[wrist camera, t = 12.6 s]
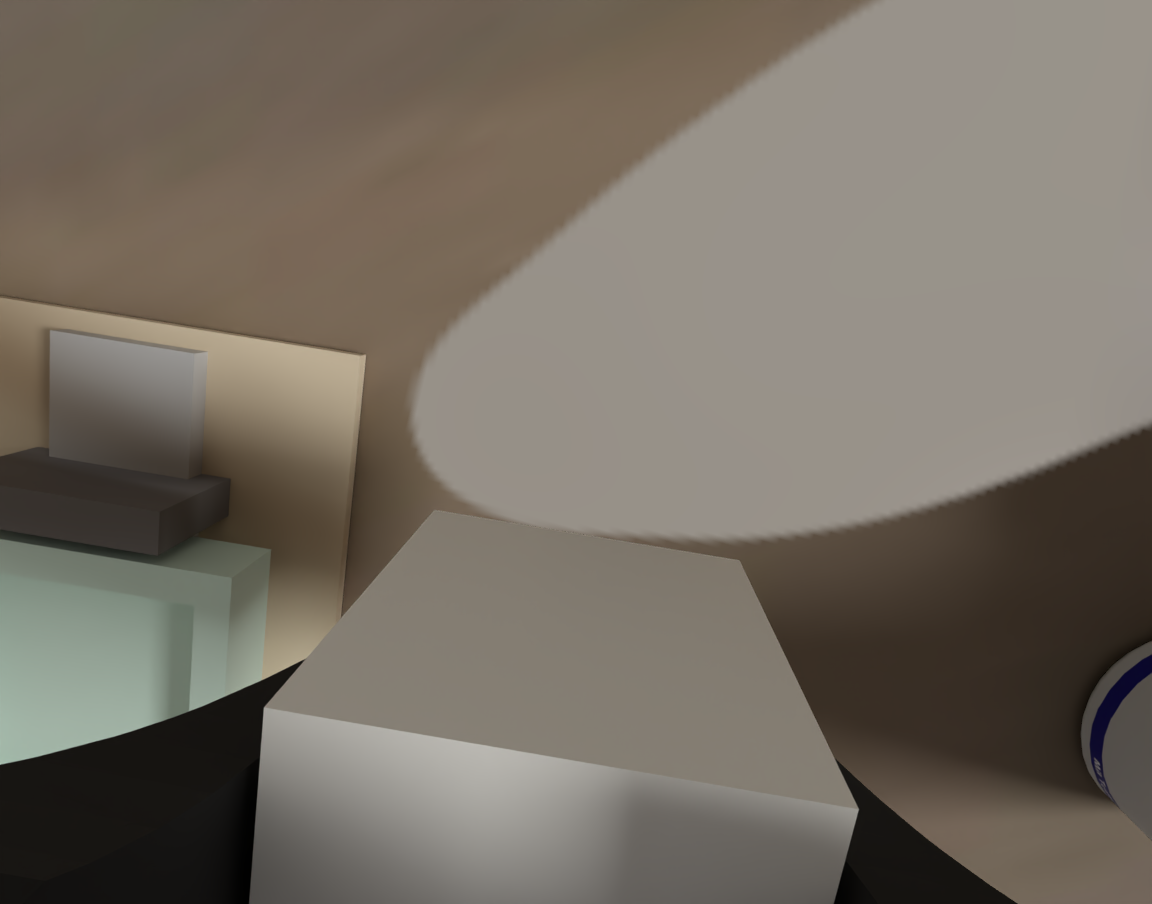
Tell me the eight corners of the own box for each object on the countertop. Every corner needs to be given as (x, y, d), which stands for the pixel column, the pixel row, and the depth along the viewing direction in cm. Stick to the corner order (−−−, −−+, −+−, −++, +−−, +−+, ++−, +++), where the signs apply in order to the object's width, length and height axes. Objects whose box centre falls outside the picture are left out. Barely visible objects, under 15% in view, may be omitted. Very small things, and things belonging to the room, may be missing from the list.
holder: (250, 834, 20) (212, 890, 18) (-46, 783, 20) (-113, 833, 18) (271, 549, 18) (231, 578, 16) (-52, 495, 18) (-127, 517, 16)
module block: (682, 828, 13) (738, 1261, 7) (401, 779, 13) (228, 1168, 7) (739, 560, 12) (858, 809, 6) (434, 509, 12) (263, 708, 6)
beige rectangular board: (300, 1037, 23) (246, 1163, 19) (-50, 975, 23) (-163, 1089, 20) (366, 354, 18) (311, 366, 15) (-67, 284, 19) (-215, 281, 15)
